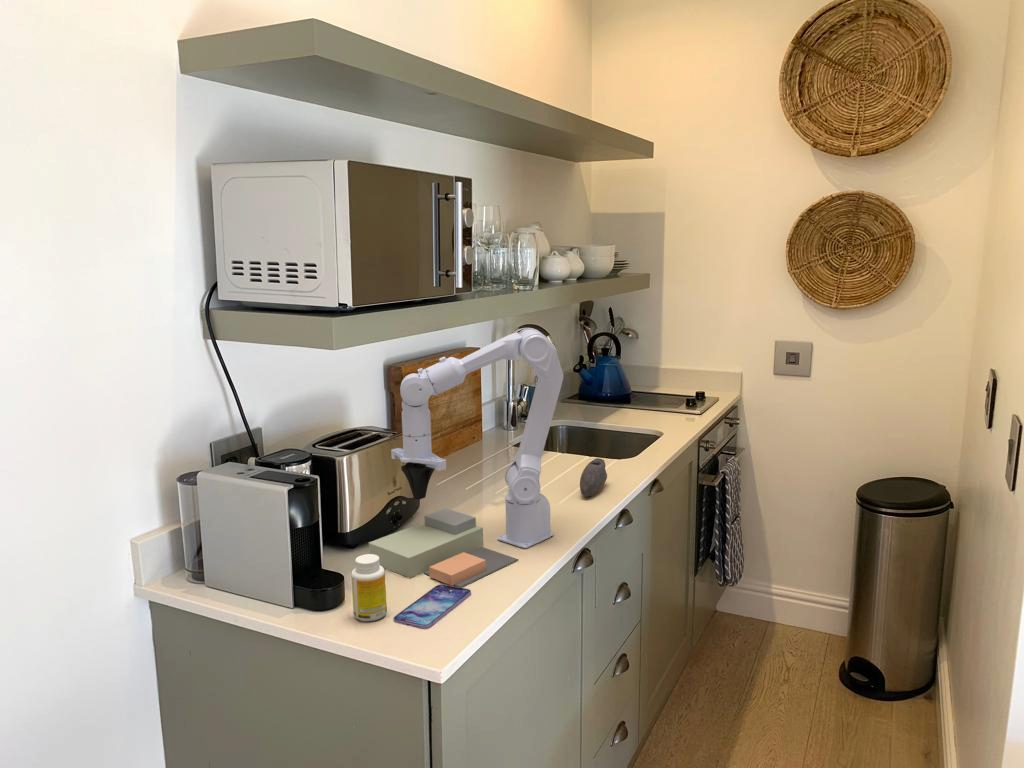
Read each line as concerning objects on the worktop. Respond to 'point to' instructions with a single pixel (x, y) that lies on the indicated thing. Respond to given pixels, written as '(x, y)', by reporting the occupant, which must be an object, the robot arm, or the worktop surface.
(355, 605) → the supplement bottle
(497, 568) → the mat
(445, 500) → the worktop surface
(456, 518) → the slate gray rectangular block
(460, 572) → the peach rectangular tile
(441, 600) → the smartphone
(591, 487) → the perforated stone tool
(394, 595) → the worktop surface
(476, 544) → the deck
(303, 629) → the worktop surface
